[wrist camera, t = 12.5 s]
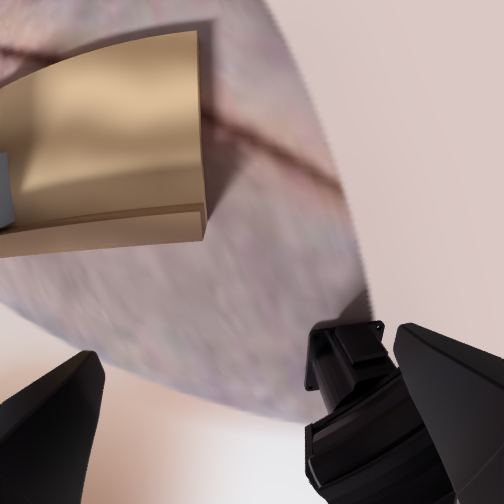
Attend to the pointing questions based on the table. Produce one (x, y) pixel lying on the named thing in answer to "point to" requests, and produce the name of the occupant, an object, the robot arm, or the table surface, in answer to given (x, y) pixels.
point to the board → (106, 149)
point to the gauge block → (5, 193)
